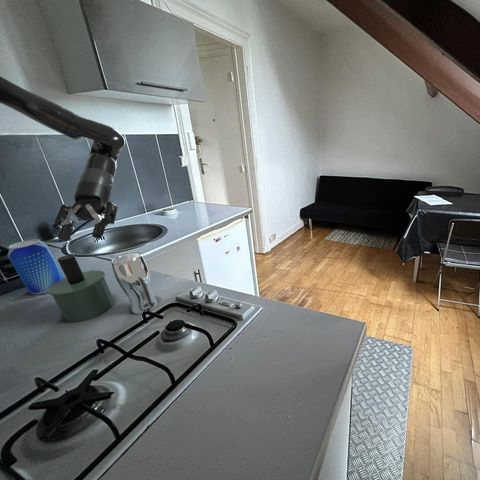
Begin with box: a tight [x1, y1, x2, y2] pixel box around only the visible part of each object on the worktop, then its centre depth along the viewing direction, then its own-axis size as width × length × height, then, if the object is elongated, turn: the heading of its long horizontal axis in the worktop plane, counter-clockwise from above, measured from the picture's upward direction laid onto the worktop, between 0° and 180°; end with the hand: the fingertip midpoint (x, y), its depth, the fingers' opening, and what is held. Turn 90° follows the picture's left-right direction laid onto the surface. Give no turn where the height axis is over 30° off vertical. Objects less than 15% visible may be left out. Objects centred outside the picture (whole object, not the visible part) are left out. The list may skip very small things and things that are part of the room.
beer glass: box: [110, 252, 159, 315], centre depth 68 cm, size 7×7×15 cm
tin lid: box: [47, 254, 106, 296], centre depth 67 cm, size 11×11×8 cm
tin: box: [52, 277, 115, 323], centre depth 70 cm, size 10×10×8 cm
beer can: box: [7, 238, 65, 297], centre depth 80 cm, size 8×8×16 cm
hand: (80, 238), depth 70 cm, fingers open, 8 cm apart
